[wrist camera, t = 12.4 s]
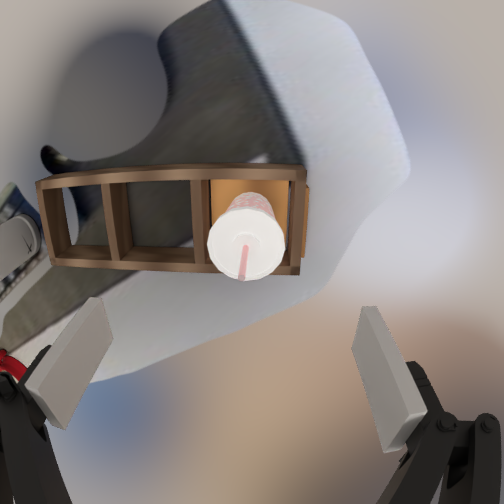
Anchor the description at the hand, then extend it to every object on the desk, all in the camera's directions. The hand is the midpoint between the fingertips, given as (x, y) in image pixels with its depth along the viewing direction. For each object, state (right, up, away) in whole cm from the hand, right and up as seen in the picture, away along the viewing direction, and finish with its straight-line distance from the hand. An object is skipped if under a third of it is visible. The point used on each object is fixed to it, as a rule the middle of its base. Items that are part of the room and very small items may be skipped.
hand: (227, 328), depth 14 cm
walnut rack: (-9, +8, +18) cm, 22 cm away
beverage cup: (+1, +8, +18) cm, 19 cm away
